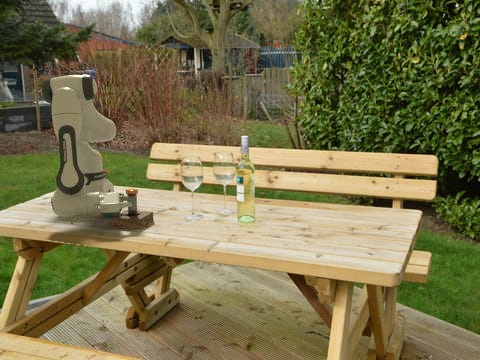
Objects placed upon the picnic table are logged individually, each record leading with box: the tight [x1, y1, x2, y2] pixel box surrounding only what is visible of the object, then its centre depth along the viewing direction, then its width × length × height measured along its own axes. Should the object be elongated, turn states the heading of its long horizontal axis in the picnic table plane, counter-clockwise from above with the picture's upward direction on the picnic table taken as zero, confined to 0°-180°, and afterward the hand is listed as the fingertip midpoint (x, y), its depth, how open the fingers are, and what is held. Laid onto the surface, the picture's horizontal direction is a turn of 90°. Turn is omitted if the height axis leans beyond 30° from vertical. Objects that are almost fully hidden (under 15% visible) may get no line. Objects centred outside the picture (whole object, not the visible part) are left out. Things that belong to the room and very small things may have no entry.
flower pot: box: [100, 192, 125, 218], centre depth 228 cm, size 9×9×9 cm
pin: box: [125, 188, 139, 217], centre depth 214 cm, size 5×5×13 cm
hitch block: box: [111, 209, 154, 231], centre depth 215 cm, size 12×12×4 cm
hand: (131, 201), depth 213 cm, fingers open, 8 cm apart
